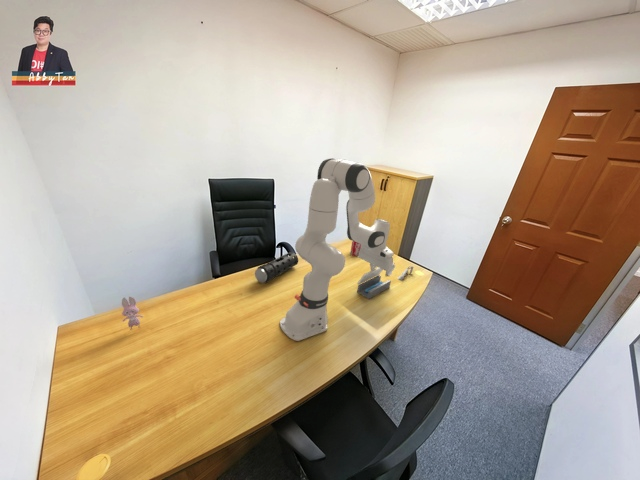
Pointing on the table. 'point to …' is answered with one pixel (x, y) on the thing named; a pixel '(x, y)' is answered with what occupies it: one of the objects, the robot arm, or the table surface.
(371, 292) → the base
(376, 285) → the blue rounded rod
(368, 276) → the panel
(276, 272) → the muzzle brake
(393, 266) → the white narrow angled pieces
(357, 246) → the soda can
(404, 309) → the table surface
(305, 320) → the robot arm
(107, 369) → the table surface
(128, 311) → the rabbit figure
